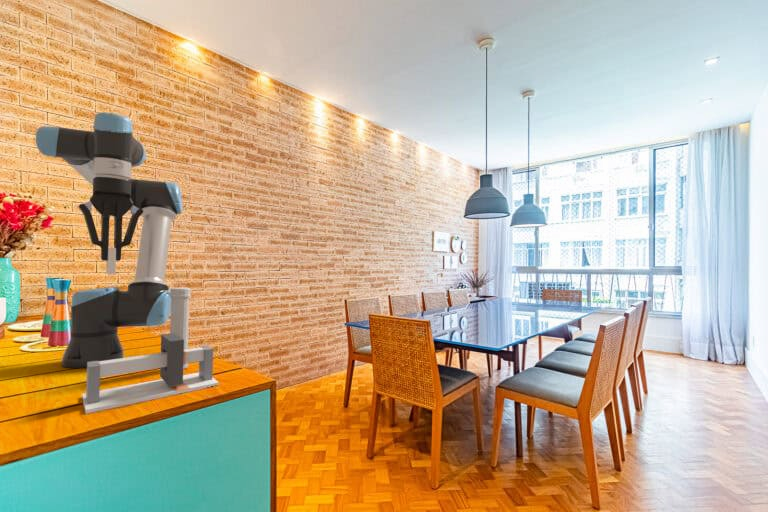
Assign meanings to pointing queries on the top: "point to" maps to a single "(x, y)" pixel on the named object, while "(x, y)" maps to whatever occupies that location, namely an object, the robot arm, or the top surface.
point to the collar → (172, 359)
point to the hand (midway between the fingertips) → (110, 274)
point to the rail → (147, 390)
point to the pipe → (180, 313)
